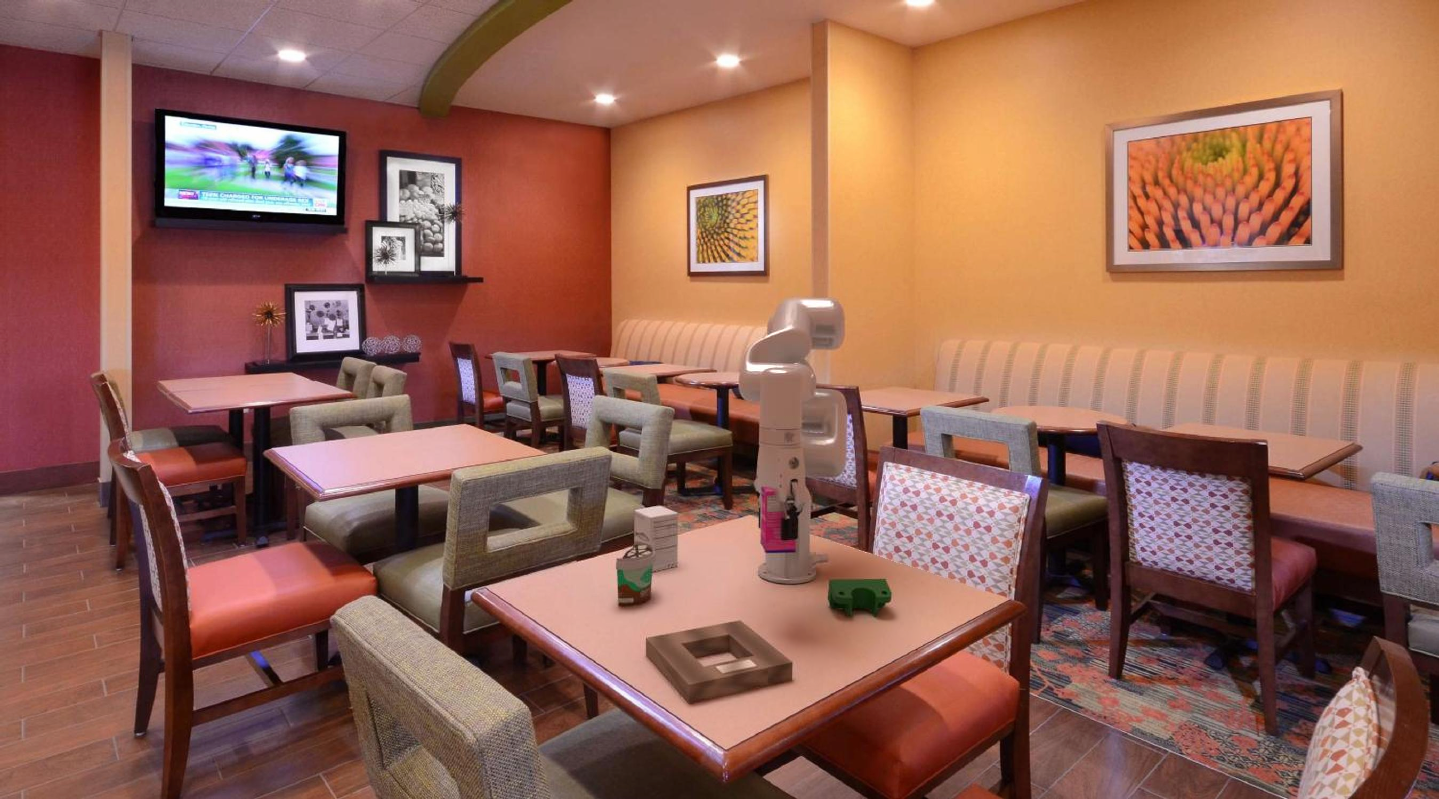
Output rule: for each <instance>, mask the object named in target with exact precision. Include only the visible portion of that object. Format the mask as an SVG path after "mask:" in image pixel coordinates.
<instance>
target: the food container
mask: <svg viewBox="0 0 1439 799" xmlns="http://www.w3.org/2000/svg"><path fill="white" fill-rule="evenodd" d="M656 559H657V558H656V553H655V550H654V548H653V546H652V545H650V544H648V543H645V542H640V541H633V546H632V548H630V549H628V550H627V551H626V552H625V553H624V554H623V556H622V557H619V558H618V557H616V562H615V570H616V578H617V579H616V580H617V581H616V582H617V604H618V605H617V607H634V605H635V606H640V605H643V604H646V603H648V602H649V601H650V600H651V596H652V595H651V594H652V583H653V582H652V580H653V572H652V570H653V563H654V562H655V561H656ZM642 603H643V604H642ZM639 604H640V605H639Z"/></svg>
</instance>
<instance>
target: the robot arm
mask: <svg viewBox="0 0 1439 799" xmlns="http://www.w3.org/2000/svg"><path fill="white" fill-rule="evenodd" d="M766 328H767V329H766V334H767V335H765V336H763V337H762V338H760V339H759V340H756V341H755V342H754V343H752V344H751V345H750V346H749V347H748V348H747V349H746V351H745V353H744V355H743V358H742V362H741V365H740V370H739V375H738V390H739V394H740V396H741V398H742V399H744V401H747V402H750V403H757V404H759V423H758V425H759V429H758V430H759V431H758V434H759V435H758V436H759V437H758V445H759V447H758V453H757V454H758V455H757V463H756V465H757V466H756V478H755V480H754V481H753V485H754V489H755V495H756V497H757V507H758V525H757V526H758V529H760V514H761V512H760V509H761V487H762V486H763V487H766V488H768V489H770V490H773V491H774V492H775V499H776V501H777V502H779V503H781V507H782V511H783V515H784V518H781V540H783V541H787V540H794V539H796V553H765V562H763V563H762V564H760V565H759V566H758V569H757V573H758V575H759V577H761V578H762V579H764V580H766V581H768V582H771V583H772V582H773V583H777V584H785V585H794V584H795V585H796V584H802V583H803V584H804V583H807V582H811V581H812V580H814V579H815V578H816V576H817V570H816V568H815V567H814V566H817V564H825V563H828V562H829V555H828V554H827V553H820V554H817V552H815V551H813V552H810V548H811V547H810V541H811V513H812V512H811V508H812V498H811V493H810V491H809V489H808V487H807V486H806V477H807V478H808V477H809V478H823V479H824V478H825V479H826V478H827V479H828V478H829V479H833V478H838V477H840V476H841V475H842V474H843V473H844V471H845V470H846V469H845V468H846V463H847V445H848V444H847V443H848V442H847V441H848V438H847V436H848V434H847V433H848V406H847V401H846V397H845V396H844V394H843V393H842V392H840V390H837V389H832V388H831V389H830V388H829V389H828V388H817V376H816V374H815V371H814V369H813V367H812V366H811V364H810V363H809V362H808V360H807V359H806V358H807V357H808V356H809V355H810V353H811V351H812V350H817V351H818V350H821V351H824V350H825V351H834V350H838V349H840V347H842V345H843V343H844V339H845V334H846V319H845V312H844V308H843V306H842V304H841V303H840V302H839V300H837V299H835V298H833V297H808V296H807V297H806V296H795V297H788V298H785V299H783V300H782V301H781V302H780V303H779V304H778V305H777V306H776V309H775V312H774V314H773V315H771V316H770V318H769V319H768V322H767V327H766ZM791 493H792V495H793V497H794V500H786V497H789V496H791ZM791 504H793V506H792V507H791V508H790V509H789V510H788V506H787V505H791Z"/></svg>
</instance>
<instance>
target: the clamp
mask: <svg viewBox="0 0 1439 799" xmlns="http://www.w3.org/2000/svg"><path fill="white" fill-rule="evenodd" d="M889 586H890V585H889V583H888V581H887V579H886V578H855V579H854V578H843V579H842V578H839V579H837V578H836V579H835V578H834V579H831V578H830V579H829V580H828V589H827V600H828V604H829V607H830V609H832V610H845V613H846V616H847V618H851V617H852V610H856V609H857V610H860V609H861V610H862V609H864V610H868V611H869V612H871V613H872V614H873V618H877V616H878V611H879V610H878V609H883V608H884V607H885V606H886V604H889V603H891V601H892V598H893V596H892V595H893V593H892V590H891V588H890V587H889Z"/></svg>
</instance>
